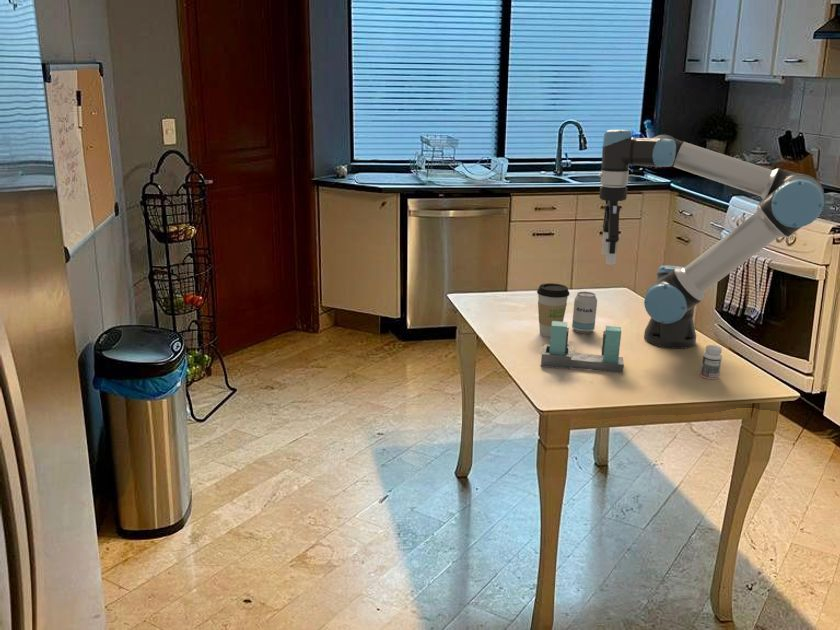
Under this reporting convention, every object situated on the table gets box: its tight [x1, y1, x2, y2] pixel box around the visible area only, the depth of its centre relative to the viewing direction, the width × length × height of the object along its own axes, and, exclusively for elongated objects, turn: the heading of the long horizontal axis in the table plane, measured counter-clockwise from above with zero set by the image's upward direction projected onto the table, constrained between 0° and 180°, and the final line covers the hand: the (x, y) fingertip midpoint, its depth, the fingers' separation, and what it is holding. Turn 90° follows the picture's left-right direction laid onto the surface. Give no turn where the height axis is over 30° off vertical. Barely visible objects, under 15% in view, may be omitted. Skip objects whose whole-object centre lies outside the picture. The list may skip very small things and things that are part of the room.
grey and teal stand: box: [540, 325, 625, 374], centre depth 219 cm, size 22×8×11 cm, turn 78°
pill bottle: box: [700, 344, 723, 380], centre depth 214 cm, size 5×5×8 cm
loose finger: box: [549, 321, 570, 355], centre depth 220 cm, size 5×4×9 cm
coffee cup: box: [536, 282, 570, 338], centre depth 243 cm, size 10×10×15 cm
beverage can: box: [571, 291, 598, 334], centre depth 248 cm, size 7×7×12 cm
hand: (608, 259), depth 231 cm, fingers open, 13 cm apart
